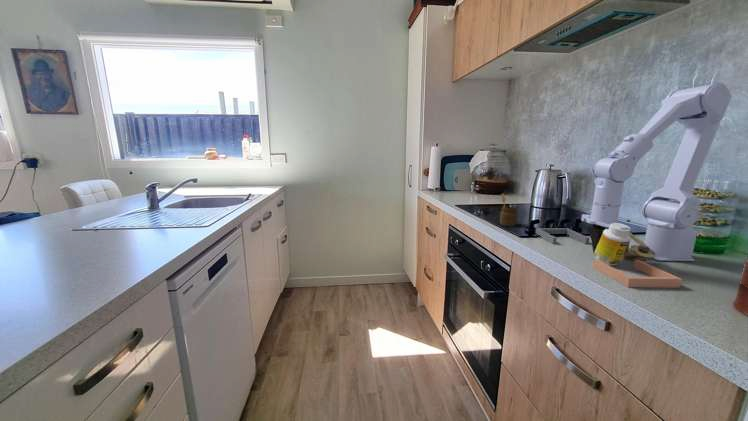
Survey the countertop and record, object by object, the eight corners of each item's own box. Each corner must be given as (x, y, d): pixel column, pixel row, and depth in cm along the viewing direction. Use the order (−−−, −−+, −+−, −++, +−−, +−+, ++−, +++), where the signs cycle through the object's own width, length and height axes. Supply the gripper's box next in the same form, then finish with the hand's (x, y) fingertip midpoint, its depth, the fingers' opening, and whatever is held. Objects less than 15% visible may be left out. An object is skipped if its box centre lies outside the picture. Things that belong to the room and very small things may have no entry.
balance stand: (622, 249, 86) (626, 231, 85) (646, 259, 78) (650, 240, 77) (601, 249, 86) (604, 231, 85) (623, 259, 78) (627, 239, 77)
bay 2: (637, 267, 73) (638, 259, 73) (680, 287, 63) (682, 279, 62) (592, 266, 74) (593, 259, 73) (627, 287, 63) (629, 278, 63)
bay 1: (552, 243, 91) (553, 237, 91) (535, 233, 102) (535, 228, 102) (588, 244, 91) (589, 238, 91) (567, 233, 102) (568, 228, 101)
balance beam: (612, 220, 89) (615, 214, 88) (659, 258, 74) (664, 251, 73) (595, 220, 89) (598, 214, 88) (639, 258, 74) (643, 251, 73)
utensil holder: (510, 227, 111) (513, 196, 108) (495, 223, 116) (498, 194, 114) (519, 224, 114) (522, 194, 112) (504, 221, 119) (506, 192, 117)
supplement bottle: (612, 269, 73) (628, 235, 68) (588, 257, 77) (602, 224, 72) (622, 261, 75) (639, 228, 71) (599, 250, 80) (613, 218, 75)
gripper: (573, 199, 84) (567, 244, 87) (611, 209, 70) (602, 263, 72) (598, 199, 83) (591, 244, 86) (641, 210, 69) (631, 263, 72)
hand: (598, 253), depth 79 cm, fingers closed
